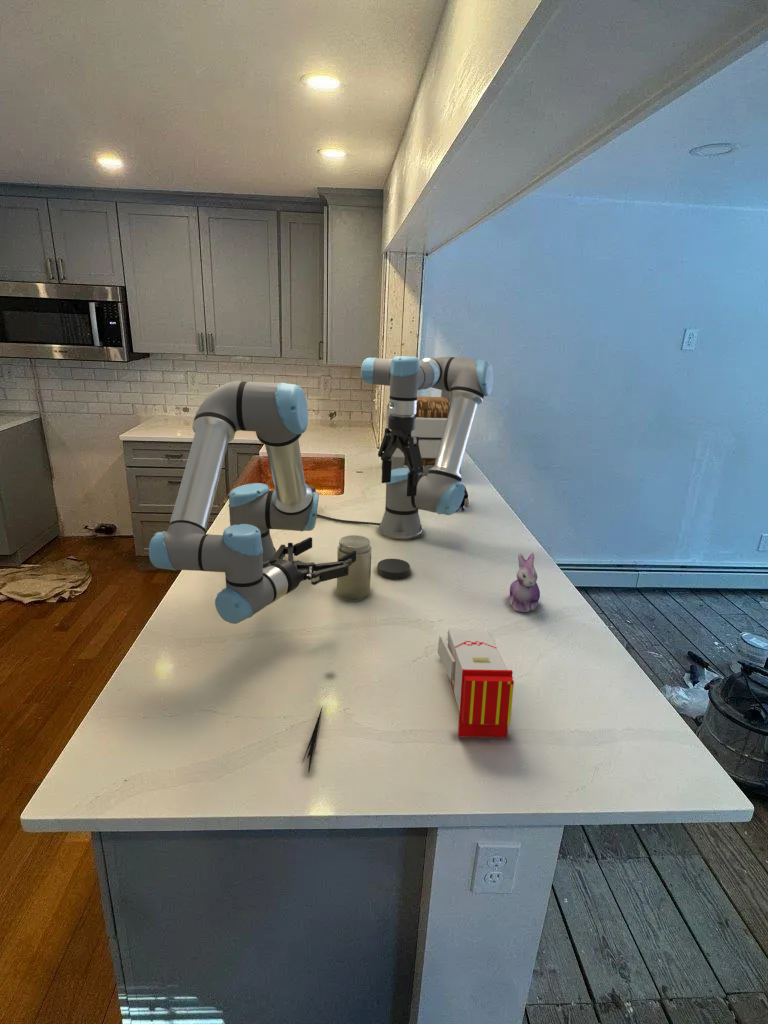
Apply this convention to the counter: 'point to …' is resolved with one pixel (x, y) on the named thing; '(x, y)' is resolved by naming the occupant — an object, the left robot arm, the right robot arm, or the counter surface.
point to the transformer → (426, 428)
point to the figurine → (525, 586)
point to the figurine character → (465, 500)
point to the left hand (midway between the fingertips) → (332, 548)
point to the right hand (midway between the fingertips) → (398, 489)
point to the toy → (478, 682)
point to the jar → (355, 568)
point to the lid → (393, 568)
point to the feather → (313, 740)
